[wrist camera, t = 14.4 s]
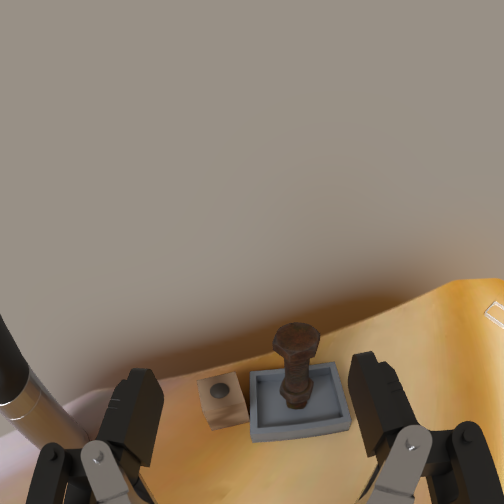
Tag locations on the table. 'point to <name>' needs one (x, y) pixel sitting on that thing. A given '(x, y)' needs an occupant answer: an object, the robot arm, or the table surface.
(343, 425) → the tray
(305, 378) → the bolt
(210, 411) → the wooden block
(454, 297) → the table surface
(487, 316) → the phone case
